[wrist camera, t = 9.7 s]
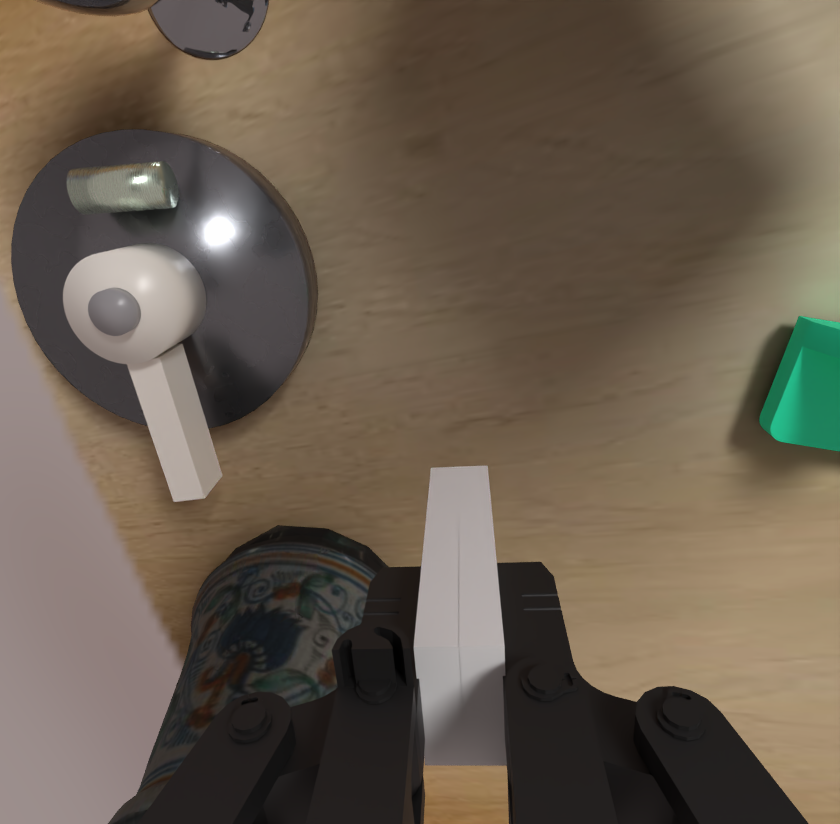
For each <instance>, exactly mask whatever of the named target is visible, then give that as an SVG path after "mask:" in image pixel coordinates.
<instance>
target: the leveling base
mask: <svg viewBox="0 0 840 824" xmlns="http://www.w3.org/2000/svg"><path fill="white" fill-rule="evenodd" d="M140 243H156V244H161V245H164V246H168V247H170V248H172V249H174V250H176V251H177V252H179V253H180V254H182V255H183V256H184V257H185V258H186V259H188V260H189V261H190V262H191V264H192V265H193V266H194V267H195V269H196V270H197V272H198V273H199V275H200V277H201V279H202V282H203V285H204V287H205V292H206V311H205V315H204V318H203V320H202V322H201V324H200V326H199V327H198V328H197V330H196V331H195V332H194V333H193V334H191V335H190V336H189V337H187V338H186V339H184V340H182V341H181V342H179V343H177V344H183V347H184V350H185V354H186V357H187V360H188V364H189V367H190V370H191V373H192V377H193V380H194V383H195V387H196V390H197V393H198V397H199V400H200V403H201V406H202V410H203V413H204V416H205V420H206V423H207V426H208V429H209V428H213V427H217V426H221V425H225V424H227V423H230V422H232V421H235V420H237V419H240V418H242V417H243V416H245V415H247V414H249V413H250V412H252V411H254V410H255V409H257V408H258V407H259V406H260V405H262V404H263V403H264V402H266V401H267V400H268V399H269V398H270V397H271V396H272V395H273V394H274V393H275V392H276V391H277V390H278V388H279V387H280V386H281V385H282V384H283V383H284V381H285V380H286V379H287V378H288V377H289V375H290V374H291V373H292V371H293V370H294V369H295V367H296V366H297V364H298V363H299V362H300V360H301V358H302V356H303V354H304V352H305V350H306V348H307V347H308V344H309V341H310V338H311V335H312V333H313V330H314V325H315V320H316V314H317V303H318V287H317V275H316V270H315V265H314V260H313V256H312V253H311V250H310V247H309V244H308V241H307V238H306V236H305V234H304V231H303V229H302V227H301V225H300V223H299V221H298V219H297V217H296V216H295V214H294V213H293V211H292V209H291V208H290V206H289V205H288V203H287V202H286V200H285V199H284V198H283V197H282V195H281V194H280V193H279V192H278V190H277V189H276V188H275V187H274V186H273V185H272V184H271V183H270V182H269V181H268V180H267V179H266V178H265V177H264V176H263V175H262V174H261V173H260V172H259V171H258V170H256V169H255V168H254V167H252V166H251V165H250V164H248V163H247V162H246V161H245V160H243V159H242V158H240V157H238V156H237V155H235V154H233V153H231V152H230V151H228V150H226V149H225V148H222V147H220V146H218V145H215V144H213V143H211V142H208V141H206V140H202V139H199V138H195V137H191V136H188V135H182V134H174V133H166V132H159V131H151V130H143V129H137V130H117V131H111V132H105V133H100V134H97V135H94V136H91V137H88V138H85V139H83V140H81V141H79V142H77V143H75V144H73V145H71V146H69V147H68V148H66V149H64V150H63V151H62V152H61V153H59V154H58V155H57V156H55V157H54V158H53V159H51V160H50V161H49V162H48V163H47V165H46V166H45V167H44V168H43V169H42V170H41V171H40V172H39V173H38V174H37V176H36V177H35V179H34V180H33V182H32V183H31V185H30V186H29V188H28V189H27V191H26V194H25V196H24V198H23V200H22V202H21V204H20V207H19V210H18V213H17V217H16V220H15V224H14V230H13V237H12V257H11V264H12V272H13V280H14V286H15V289H16V293H17V297H18V301H19V304H20V307H21V310H22V312H23V315H24V318H25V320H26V323H27V325H28V326H29V328H30V330H31V332H32V334H33V336H34V338H35V340H36V341H37V343H38V345H39V346H40V348H41V349H42V351H43V352H44V354H45V355H46V357H47V358H48V359H49V360H50V362H51V363H52V364H53V365H54V366H55V368H56V369H57V370H58V371H59V372H60V373H61V374H62V375H63V376H64V377H65V378H66V379H67V380H68V381H69V382H70V383H71V384H72V385H73V386H74V387H75V388H76V389H78V390H79V391H80V392H81V393H83V394H84V395H85V396H86V397H88V398H89V399H91V400H92V401H94V402H95V403H97V404H98V405H100V406H101V407H103V408H105V409H107V410H108V411H110V412H112V413H114V414H116V415H118V416H120V417H123V418H125V419H128V420H131V421H133V422H136V423H139V424H143V425H146V426H148V425H147V422H146V419H145V416H144V413H143V410H142V407H141V404H140V401H139V398H138V395H137V393H136V390H135V387H134V384H133V381H132V378H131V375H130V372H129V369H128V366H127V364H121V363H116V362H112V361H109V360H107V359H104V358H102V357H100V356H99V355H97V354H95V353H94V352H93V351H91V350H90V349H89V348H87V347H86V346H85V345H84V344H83V343H82V342H81V341H80V340H79V338H78V337H77V336H76V334H75V333H74V332H73V330H72V328H71V326H70V324H69V322H68V320H67V317H66V314H65V311H64V305H63V289H64V285H65V281H66V279H67V276H68V274H69V273H70V271H71V270H72V268H73V267H74V266H75V265H76V264H77V263H78V262H79V261H81V260H82V259H84V258H86V257H88V256H90V255H93V254H97V253H101V252H105V251H110V250H114V249H118V248H123V247H127V246H132V245H136V244H140Z"/></svg>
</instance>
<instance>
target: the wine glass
mask: <svg viewBox="0 0 840 824" xmlns="http://www.w3.org/2000/svg"><path fill="white" fill-rule="evenodd" d="M35 1H37V2H40V3H42V4H45V5H49V6H52V7H55V8H58V9H61V10H65V11H70V12H74V13H79V14H85V15H94V16H125V15H131V14H136V13H140V12H142V11H145V10H147V9H148V10H149V12H150V14H151V17H152V18H153V20H154V22H155V23H156V25H157V27H158V28H159V29H160V31H161V32H162V33H163V34H164V35H165V37H166V38H167V39H168V40H170V41H171V42H172V43H173V44H174V45H175V46H177V47H178V48H180V49H181V50H183V51H184V52H186V53H188V54H191V55H193V56H195V57H200V58H204V59H220V58H226V57H229V56H231V55H234V54H236V53H238V52H240V51H241V50H242V49H244V48H245V47H247V46H248V45H249V44H250V43H251V41H252V40H253V39H254V38H255V37H256V35H257V34H258V32H259V31H260V29H261V27H262V24H263V22H264V20H265V17H266V13H267V9H268V5H269V0H35Z"/></svg>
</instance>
